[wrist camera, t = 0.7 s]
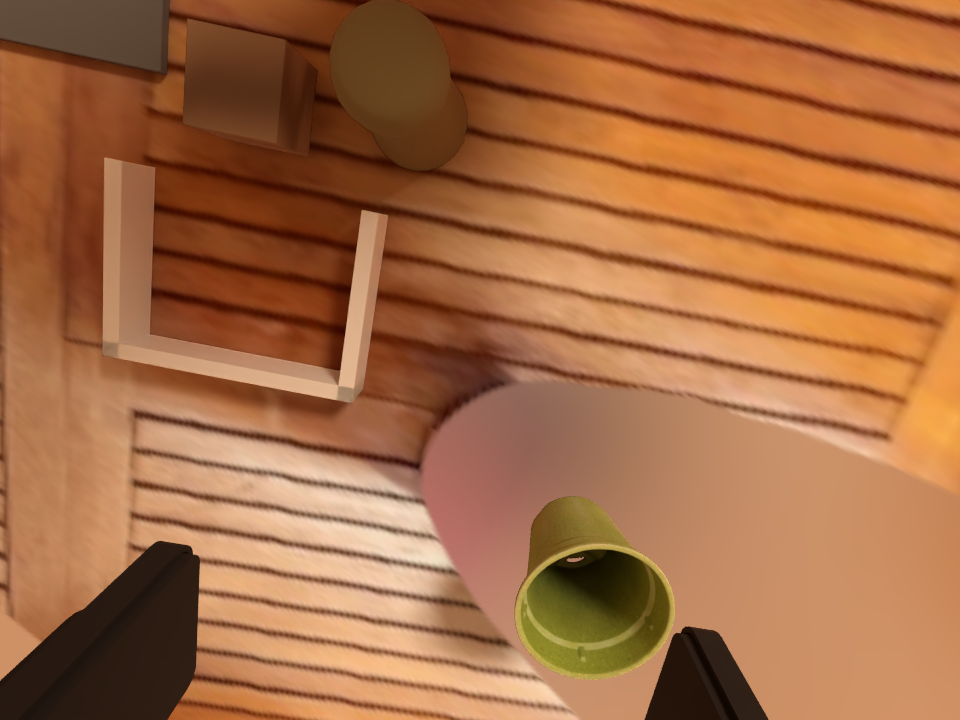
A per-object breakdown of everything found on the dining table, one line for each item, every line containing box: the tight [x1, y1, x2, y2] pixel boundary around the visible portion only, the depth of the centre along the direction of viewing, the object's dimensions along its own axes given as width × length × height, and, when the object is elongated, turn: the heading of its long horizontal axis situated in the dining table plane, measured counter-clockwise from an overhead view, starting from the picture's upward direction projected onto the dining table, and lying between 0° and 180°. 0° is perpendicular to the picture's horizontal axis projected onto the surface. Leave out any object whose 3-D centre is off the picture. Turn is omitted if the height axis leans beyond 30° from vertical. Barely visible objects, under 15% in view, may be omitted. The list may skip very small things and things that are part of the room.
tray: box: [103, 157, 388, 403], centre depth 32 cm, size 12×16×3 cm
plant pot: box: [515, 496, 675, 680], centre depth 33 cm, size 9×9×9 cm
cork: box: [329, 0, 467, 171], centre depth 25 cm, size 6×6×11 cm
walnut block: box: [183, 19, 317, 157], centre depth 28 cm, size 5×5×5 cm
